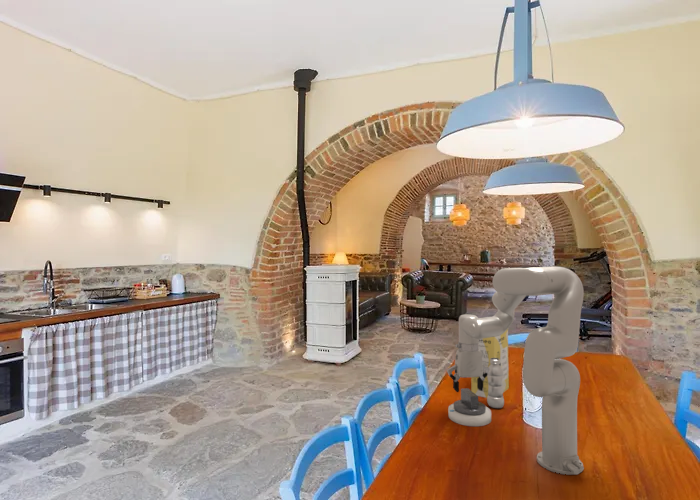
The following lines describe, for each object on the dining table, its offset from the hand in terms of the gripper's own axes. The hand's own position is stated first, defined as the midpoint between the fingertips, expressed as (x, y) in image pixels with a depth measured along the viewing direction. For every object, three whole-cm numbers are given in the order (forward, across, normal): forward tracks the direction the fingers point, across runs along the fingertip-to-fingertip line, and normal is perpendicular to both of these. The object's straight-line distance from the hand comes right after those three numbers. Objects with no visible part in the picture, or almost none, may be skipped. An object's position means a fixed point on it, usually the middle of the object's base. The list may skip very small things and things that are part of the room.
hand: (468, 390), depth 160 cm
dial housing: (+10, 0, -1) cm, 11 cm away
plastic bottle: (+11, +15, +7) cm, 20 cm away
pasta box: (+11, +22, +25) cm, 35 cm away
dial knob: (+7, 0, -1) cm, 7 cm away
